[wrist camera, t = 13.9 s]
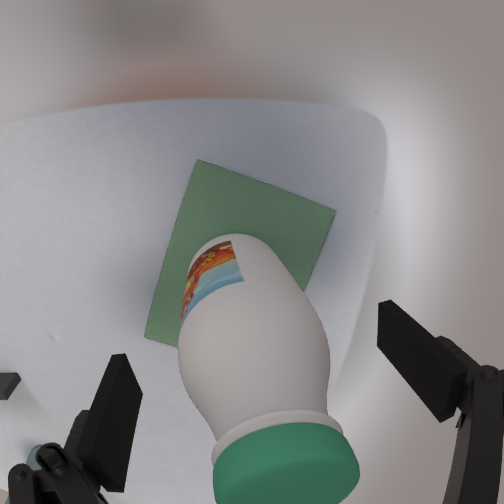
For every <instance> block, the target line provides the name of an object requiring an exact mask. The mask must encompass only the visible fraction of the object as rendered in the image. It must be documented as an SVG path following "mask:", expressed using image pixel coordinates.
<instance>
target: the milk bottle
mask: <svg viewBox="0 0 504 504" xmlns="http://www.w3.org/2000/svg"><path fill="white" fill-rule="evenodd" d="M178 359H179V368H180V373H181V376H182V380H183V383H184V386H185V388H186V390H187V393H188V395H189V397H190V399H191V400H192V402H193V403H194V405H195V406H196V408H197V409H198V411H199V412H200V413H201V414H202V416H203V417H204V418H205V420H206V421H207V423H208V424H209V426H210V428H211V430H212V432H213V434H214V436H215V438H216V441H217V443H216V444H215V446H214V448H213V451H212V464H213V467H214V468H213V489H214V496H215V501H216V503H217V504H338V503H340V502H341V501H342V500H344V499H345V498H346V497H347V496H348V495H349V494H350V493H351V492H352V490H353V489H354V488H355V486H356V485H357V483H358V481H359V477H360V470H359V464H358V461H357V459H356V456H355V454H354V452H353V450H352V448H351V446H350V444H349V443H348V441H347V439H346V438H345V437H344V436H343V431H342V428H341V426H340V425H339V423H338V422H337V421H336V420H335V419H333V418H332V417H330V416H328V413H327V387H328V381H329V374H330V352H329V346H328V341H327V337H326V334H325V331H324V328H323V326H322V323H321V321H320V319H319V317H318V315H317V313H316V312H315V310H314V308H313V307H312V305H311V303H310V302H309V300H308V299H307V297H306V296H305V294H304V293H303V291H302V290H301V288H300V287H299V286H298V284H297V283H296V281H295V280H294V278H293V277H292V276H291V274H290V273H289V271H288V270H287V269H286V267H285V266H284V264H283V263H282V262H281V260H280V259H279V258H278V256H277V255H276V254H275V253H274V251H273V250H272V249H271V248H270V247H269V246H268V245H267V244H266V243H264V242H263V241H261V240H260V239H258V238H256V237H253V236H250V235H246V234H238V233H235V234H226V235H222V236H219V237H216V238H214V239H212V240H210V241H209V242H207V243H206V244H205V245H203V246H202V247H201V248H200V249H199V250H198V252H197V253H196V254H195V256H194V257H193V259H192V261H191V264H190V266H189V270H188V274H187V279H186V285H185V291H184V297H183V303H182V311H181V318H180V326H179V339H178Z"/></svg>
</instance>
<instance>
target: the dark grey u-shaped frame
mask: <svg viewBox="0 0 504 504" xmlns="http://www.w3.org/2000/svg"><path fill="white" fill-rule="evenodd" d="M20 381H21V379H20V377H19V375H18V373H0V400H8V398H9V397H10V395H11V394H12V392H13V391H14V389H15V388H16V386H17V385H18V383H19V382H20Z"/></svg>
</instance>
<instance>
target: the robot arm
mask: <svg viewBox="0 0 504 504" xmlns="http://www.w3.org/2000/svg"><path fill="white" fill-rule="evenodd" d="M378 304H379V305H378V335H377V347H378V348H379V349H380V350H381V351H382V353H383V354H384V355H385V356H386V357H387V359H388V360H389V361H390V362H391V363H392V364H393V366H394V367H395V368H396V369H397V371H398V372H399V373H400V374H401V375H402V377H403V378H404V379H405V380H406V382H407V383H408V384H409V385H410V386H411V388H412V389H413V390H414V391H415V393H416V394H417V395H418V396H419V397H420V399H421V400H422V401H423V402H424V404H425V405H426V406H427V407H428V409H429V410H430V411H431V412H432V414H433V415H434V416H435V417H436V419H437V420H438V421H439V422H440V423H441V422H443V421H445V420H447V419H449V418H451V417H453V416H454V414H455V411H456V408H457V407H458V408H459V409H460V410H461V411H462V412H461V415H460V417H459V420H458V422H457V425H456V428H458V433H457V440H456V445H455V451H454V456H453V462H452V467H451V472H450V476H449V480H448V484H447V489H446V492H445V496H444V500H443V503H442V504H497V498H498V491H499V483H500V475H501V464H502V463H501V462H502V448H503V435H504V370H498V369H497V368H495V367H493V366H489V365H483V366H480V365H479V364H478V363H476V361H474V360H473V359H472V358H471V357H470V356H469V355H468V354H466V353H465V352H464V351H462V349H461V348H459V347H458V346H457V345H456V344H455V343H454V342H453V341H451V340H450V339H448V338H445V337H443V336H439V337H437V338H435V337H433V336H432V335H431V334H430V333H429V332H428V331H427V330H426V329H425V328H423V327H422V326H421V325H420V324H419V323H418V322H416V321H415V320H414V319H413V318H412V317H410V315H408V314H407V313H406V312H405V311H404V310H402V309H401V308H400V307H399V306H398V305H397V304H395V303H394V302H393V301H392V300H387V301H384V302H381V303H378ZM142 395H143V393H142V391H141V388H140V386H139V384H138V382H137V380H136V377H135V375H134V373H133V370H132V368H131V366H130V363H129V361H128V359H127V356H126V354H125V353H124V354H116V355H112V356H111V359H110V361H109V363H108V366H107V368H106V370H105V373H104V375H103V378H102V380H101V383H100V385H99V388H98V390H97V393H96V395H95V398H94V400H93V403H92V405H91V408H90V410H82V411H81V412H80V413H79V415H78V416H77V417H76V418H75V421H74V423H73V427H72V428H71V431H70V434H69V436H68V438H67V441H66V444H65V446H64V449H63V448H62V447H61V446H60V445H59V444H57V443H47V444H44V445H43V446H41V447H40V448H39V449H38V451H37V452H36V455H35V460H36V462H37V463H38V464H39V465H40V467H41V468H42V469H40V470H34V471H33V470H32V469H31V468H30V467H29V466H28V465H27V464H24V463H22V464H17V465H15V466H14V467H13V468H12V469H11V470H10V472H9V475H8V488H9V503H10V504H109V503H108V502H107V500H106V499H105V498H104V496H103V495H102V494H101V493H100V487H101V485H102V486H103V487H104V489H105V490H106V491H107V492H121V493H124V488H125V482H126V476H127V470H128V465H129V459H130V454H131V448H132V443H133V438H134V433H135V428H136V423H137V418H138V414H139V409H140V404H141V400H142Z"/></svg>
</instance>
